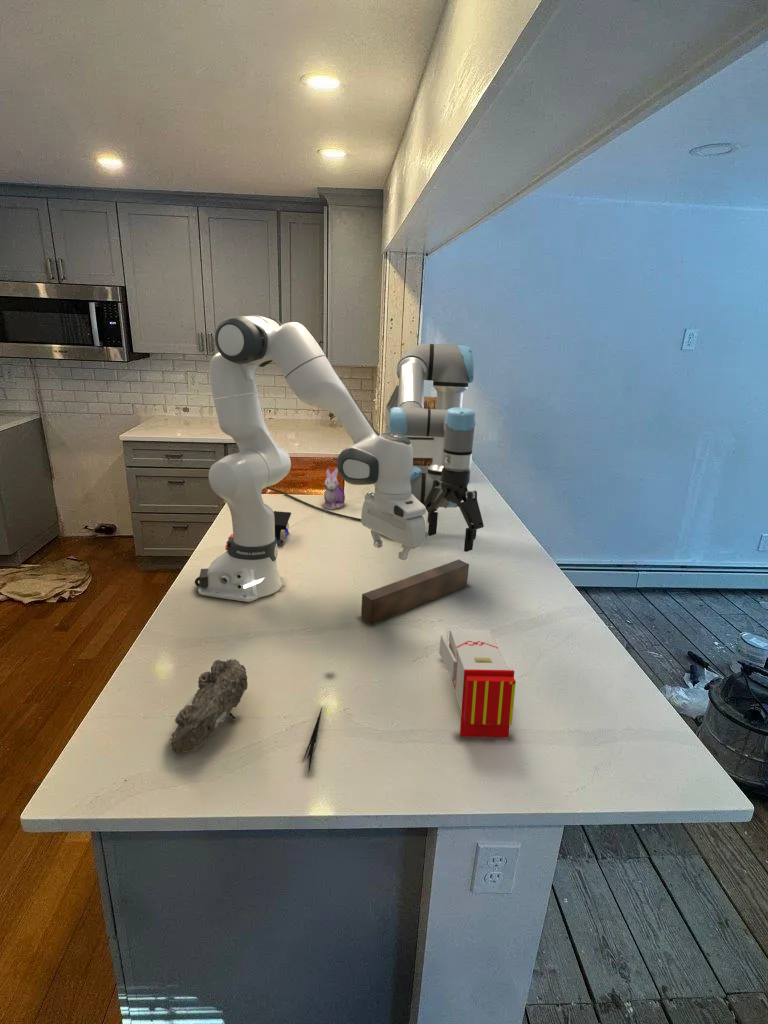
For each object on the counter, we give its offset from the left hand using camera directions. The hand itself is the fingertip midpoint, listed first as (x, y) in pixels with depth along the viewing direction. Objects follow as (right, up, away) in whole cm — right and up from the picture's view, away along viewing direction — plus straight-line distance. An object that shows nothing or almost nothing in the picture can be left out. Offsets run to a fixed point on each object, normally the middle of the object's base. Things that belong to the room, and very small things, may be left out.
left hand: (390, 552), depth 142 cm
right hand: (+17, +2, +15) cm, 22 cm away
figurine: (-21, +13, +83) cm, 87 cm away
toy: (+17, -27, -23) cm, 40 cm away
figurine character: (-37, +1, +49) cm, 62 cm away
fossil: (-34, -29, -34) cm, 56 cm away
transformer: (+15, +29, +133) cm, 137 cm away
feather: (-14, -30, -33) cm, 46 cm away
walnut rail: (+8, -14, +13) cm, 21 cm away
